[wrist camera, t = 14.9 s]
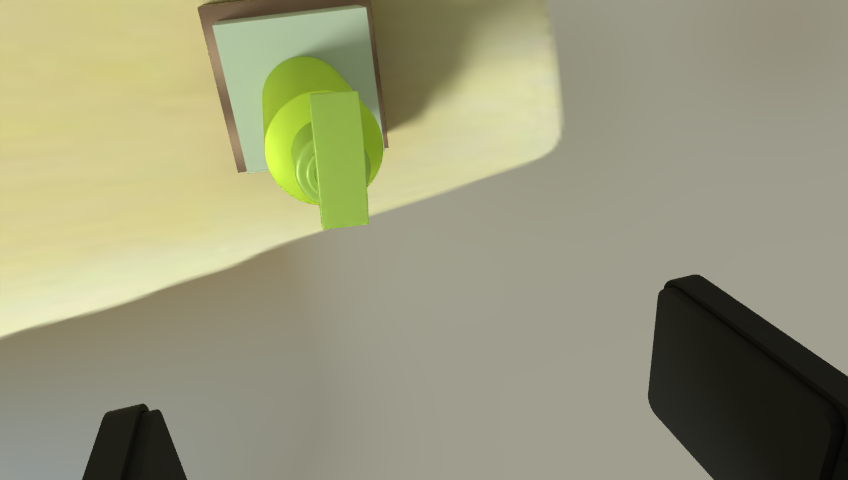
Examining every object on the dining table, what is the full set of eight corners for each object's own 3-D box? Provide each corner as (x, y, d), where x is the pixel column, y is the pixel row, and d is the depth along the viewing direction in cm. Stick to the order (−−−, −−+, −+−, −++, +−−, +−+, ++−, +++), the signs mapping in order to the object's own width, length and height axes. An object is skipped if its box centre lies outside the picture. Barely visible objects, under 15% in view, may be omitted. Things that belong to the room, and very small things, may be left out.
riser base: (202, 4, 44) (197, 7, 40) (359, -13, 46) (368, -12, 42) (239, 158, 49) (238, 172, 45) (379, 135, 51) (388, 147, 48)
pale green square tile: (216, 21, 41) (212, 25, 37) (357, 4, 43) (366, 7, 39) (248, 158, 45) (247, 173, 42) (374, 137, 47) (384, 150, 43)
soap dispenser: (343, 37, 39) (413, 88, 22) (350, 137, 42) (418, 254, 25) (253, 42, 38) (252, 100, 21) (268, 145, 41) (277, 273, 23)
